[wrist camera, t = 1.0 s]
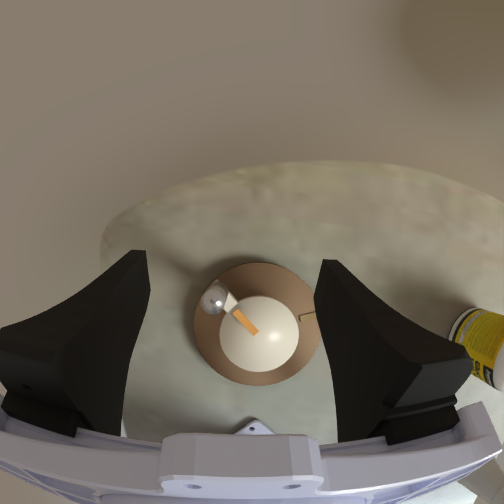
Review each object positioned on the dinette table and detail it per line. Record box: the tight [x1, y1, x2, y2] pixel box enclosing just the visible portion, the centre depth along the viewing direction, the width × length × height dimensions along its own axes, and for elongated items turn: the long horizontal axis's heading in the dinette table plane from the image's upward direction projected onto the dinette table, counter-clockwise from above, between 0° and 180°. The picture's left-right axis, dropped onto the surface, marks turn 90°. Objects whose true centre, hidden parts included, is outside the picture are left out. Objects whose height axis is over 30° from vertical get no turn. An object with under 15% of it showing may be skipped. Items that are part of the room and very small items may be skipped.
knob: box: [201, 281, 299, 372], centre depth 20 cm, size 8×6×4 cm
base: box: [194, 262, 321, 386], centre depth 24 cm, size 10×10×2 cm
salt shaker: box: [457, 457, 504, 504], centre depth 19 cm, size 6×6×13 cm
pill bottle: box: [448, 308, 504, 392], centre depth 20 cm, size 6×6×11 cm
